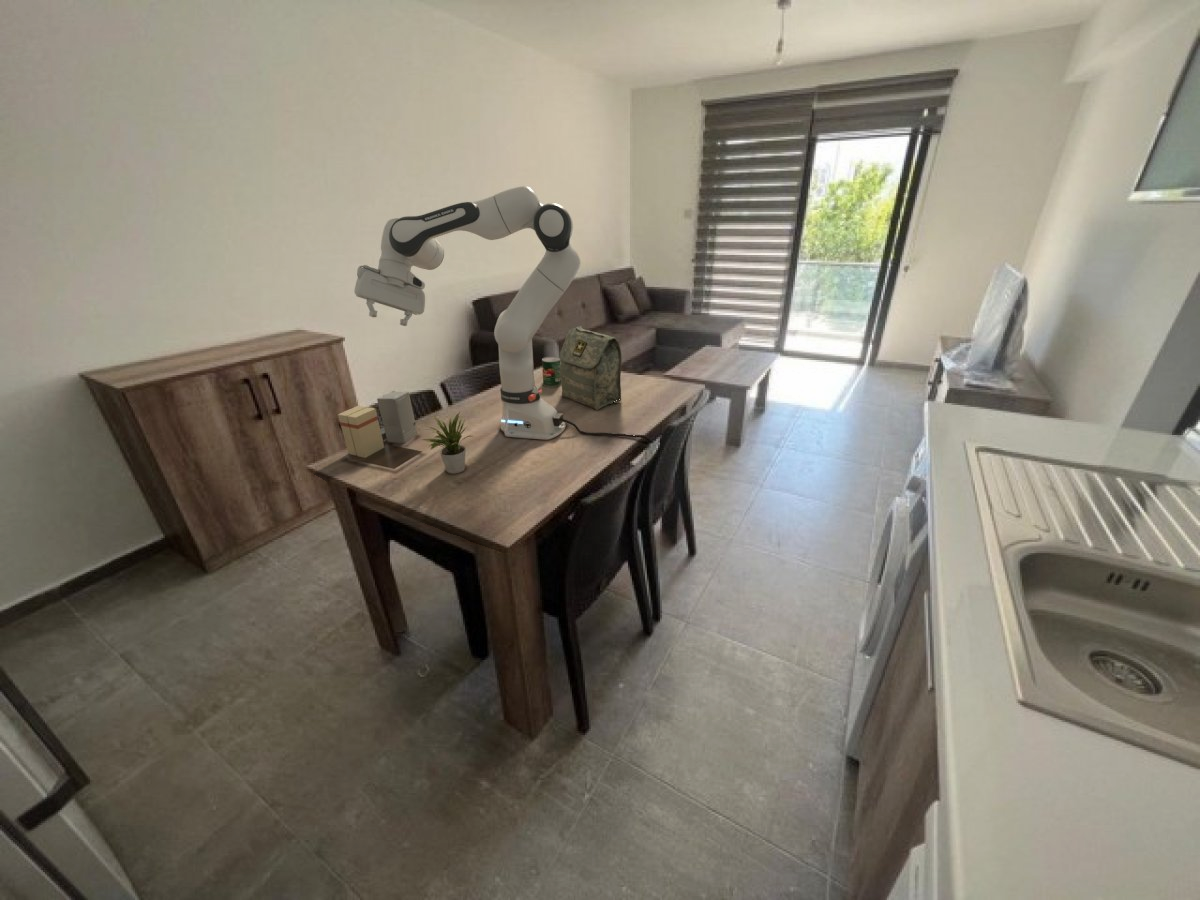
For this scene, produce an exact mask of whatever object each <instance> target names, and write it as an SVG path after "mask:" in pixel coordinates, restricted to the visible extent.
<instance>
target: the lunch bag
mask: <svg viewBox="0 0 1200 900" xmlns="http://www.w3.org/2000/svg"><path fill="white" fill-rule="evenodd" d="M558 357H559V358H560V362H561V367H560V373H561V385H560V386H561V396H562V397H564V398H568V399H570V400H573V401H575V402H577V403H580V404H582V405H585V406H588V407H591V408H593V409H595V410H597V411H598V410H600V409H602V408H604V407H605V406H608V405H610V404H616V403H618V404H619V403H620V402H621V401H622V388H621V387H622V386H621V376H622V363H623V362H622V360H623V359H622V350H621V345H620V342H619V341H618V339H617V338H616V337H615V336H611V335H608V334H604V333H600V332H595V331H592V330H588V329H584V328H583V327H582V326H581V325H579V326H575V328H571V329H570V330H569V331H568V332H567V334H566V336H565V338H564V342H563V345H562V347H561V349H560V352H559V356H558ZM619 399H620V400H619ZM616 400H617V401H616ZM614 401H615V402H614ZM613 402H614V403H613Z"/></svg>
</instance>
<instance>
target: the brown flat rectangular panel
mask: <svg viewBox="0 0 1200 900" xmlns="http://www.w3.org/2000/svg"><path fill="white" fill-rule="evenodd" d="M421 453H423V451H422V450H418V449H414V448H409V447H404V446H399V445H393V444H389V443H384V448H382V449H381V450H379V451H377V452H375V453H373V454H371V455H370V456H368V457H366V458H364V457H360V456H355V455H351V454H348V453H347V454H346V455H344V456H342V458H344V459H348V460H353V461H357V462H361V463H366V464H370V465H375V466H380V467H384V468H388V469H392V470H395V469H397V468H399V467H400V466H402V465H403V464H405V463H407V462H409V461H410V460H412V459H413V458H415V457H417V456H418V455H420V454H421Z"/></svg>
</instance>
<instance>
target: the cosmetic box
mask: <svg viewBox="0 0 1200 900" xmlns="http://www.w3.org/2000/svg"><path fill="white" fill-rule="evenodd" d="M376 401H377V405H378V409H379V413H380V417H381V420H382V425H383V427H384V429H385V433H386V437H387V439H386V441H387V442H388V443H395V444H406V443H408V442H409V441H410V440H412V439H413V438H414V437H415V436H416V435H418V428H417V424H416V419H415V414H414V410H413V406H412V405H413V404H412V401H411V396H410V392H409V391H398V390H397V391H396V390H391V391H390V392H387V393H385V394H383V395H382V396H379V397H377V398H376Z"/></svg>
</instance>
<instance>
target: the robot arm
mask: <svg viewBox="0 0 1200 900" xmlns="http://www.w3.org/2000/svg"><path fill="white" fill-rule="evenodd" d="M525 229H531V230H533V231H534V232H535V235H536V236H537V238H538V239H539V241H540V243H541V244H542V245H543V248H544V249H545V253H544V255H543V257H542V258H541V260H540V261H539V263H538V264H537V265H536V267H535V268H534V270H533V271H532V272H531V274H530V275H529V276H528V278H527V279H526V280H525V282H524V283H523V284H522V286H521V287H520V289H519V290H518V292H517V293H516V295H515V296H514V297H513V299H512V301H511V302H510V304H509V305H508V307H507V308H506V309H504V310H503V311H501V313H500V314H499V316H498V318H497V320H496V322H495V323H496V324H495V326H494V330H493V331H494V333H493V334H494V335H493V336H494V340H495V341H496V343H497V345H498V346H497V347H498V367H499V376H500V386H501V387H500V400H501V402H502V415H501V416H502V417H501V419H500V422H501V423H500V430H501V431H502V432H503V433H504V436H505V437H508V438H517V439H518V438H519V439H532V440H544V441H545V440H546V441H548V440H551V439H554V438H556V437H558V436H559V435H560V434H562V433H563V432H564V430H565V429H566V426H567V425H566V424H569V425H570V426H572V427H573V428H574V429H575V430H576V431H577V432H578V433H579V434H582V435H587V436H608V437H626V438H641V439H645V440H648V442H649V443H654V441H653V439H652V438H651V437H649V436H647V435H645V434H631V435H626V434H627V433H617V434H612V433H613V432H588V431H583V430H581V429H580V428H579V427H578V426H577V424H576V423H574V422H572V421H570V420H568V419H565V418H564V413H563V412H558V411H557V410H556V408H554V406H552V405H550V404H549V403H548V402H546V400H544V399H543V398H542V397H541V395H540V394H542V393H543V389H542V388H541V389H539V390H538V388H537V386H536V385H535V384H536V383H535V372H534V371H535V369H534V352H533V337H534V336H535V335H536V333H537V332H538V330H539V329H540V328H541V325H542V324H543V322H544V321H545V319H546V318H547V316H548V315H549V314H550V312H551V311H552V309H553V308H554V306H555V305H556V304H557V303H558V301H559V300H560V299H561V298H562V296H563V295H564V293H565V292H566V291H567V289H568V288H569V286H570V285H571V283H572V282H573V281H574V278H575V277H576V275H577V273H578V271H579V269H580V267H581V258H580V256H579V253H578V252H577V251H576V249H574V248H573V246H572V245H571V243H570V240H571V238H572V236H573V235H572V234H573V231H574V230H573V229H574V223H573V219H572V216H571V215H570V213H569V211H568V210H567V209H566V208H564V206H563V205H561V204H558V203H555V202H549V203H546V204H542V203H541V202H540V199H539V198H538V195H537V194H536V192H535V191H534V189H532V188H531V187H529V186H526V185H521V186H516V187H513V188H509V189H506V190H503V191H500V192H498V193H495V194H493V195H491V196H488V197H486V198H483V199H479V200H474V201H463V202H459V203H455V204H451V205H449V206H446V207H445V206H444V207H442V208H439V209H437V210H433V211H430V212H426V213H424V214H421V215H413V216H411V215H408V216H407V215H406V216H402V217H400V218H398V217H397V218H390V219H389V220H388V221H387V222H386V223H385V225H384V227H383V232H382V235H381V240H380V241H381V243H380V251H381V252H380V253H381V255H380V257H379V260H378V268H375V267H371V266H369V265H368V264H363V265H359V266H358V268H357V271H356V276H357V279H356V281H355V286H354V290H353V291H354V295H355V296H356V297H357V298H360V299H364V300H366V302H365V303H366V306H367V308H368V310H369V311H368V312H369V313H368V316H369V317H371V318H377V317H378V310H376V309H375V307H374V305H375V303H377V304H379V305H382V306H386V307H388V308H389V307H390V308H392V309H396V310H399V311H402V312H404V317H403V318H400V320H399V325H400V326H403V327H407V326H408V321H409V320H410V319H411V317H412V316H413V315H415V316H420V315H422V314H423V313H425V308H426V294H425V292H424V290H425V286H426V283H425V282H424V281H423V280H422V279H420V278H419V277H418V276H417V275H415V274H414V273H413V272H412V267H416V268H419V269H422V270H428V271H433V270H436V269H437V268H438V267H440V265H441V264H442V263H443V261H444V259H445V250H444V247H443V245H442V244H441V243H440V242H439V240H437V238H438V237H441V236H445V235H448V234H450V233H453V232H458V231H459V232H460V231H462V232H468V233H471V234H474V235H476V236H479V237H480V238H483V239H486V240H489V241H496V240H501V239H503V238H506V237H509V236H510V235H513V234H515V233H518V232H519V231H522V230H525ZM633 435H635V436H633ZM652 523H654V524H655V523H656V517H654V518H653V520H652Z"/></svg>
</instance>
